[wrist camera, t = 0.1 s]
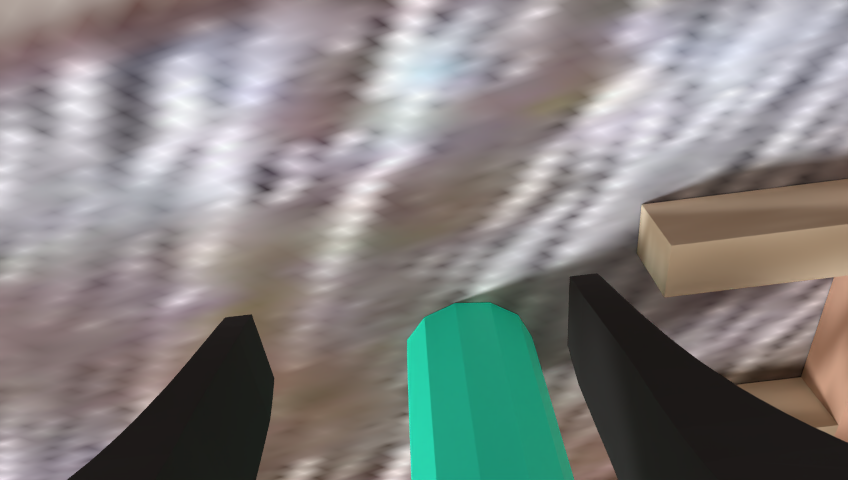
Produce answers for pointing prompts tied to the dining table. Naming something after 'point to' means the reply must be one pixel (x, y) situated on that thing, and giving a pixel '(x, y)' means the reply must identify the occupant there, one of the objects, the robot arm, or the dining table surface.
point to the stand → (765, 274)
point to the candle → (480, 399)
